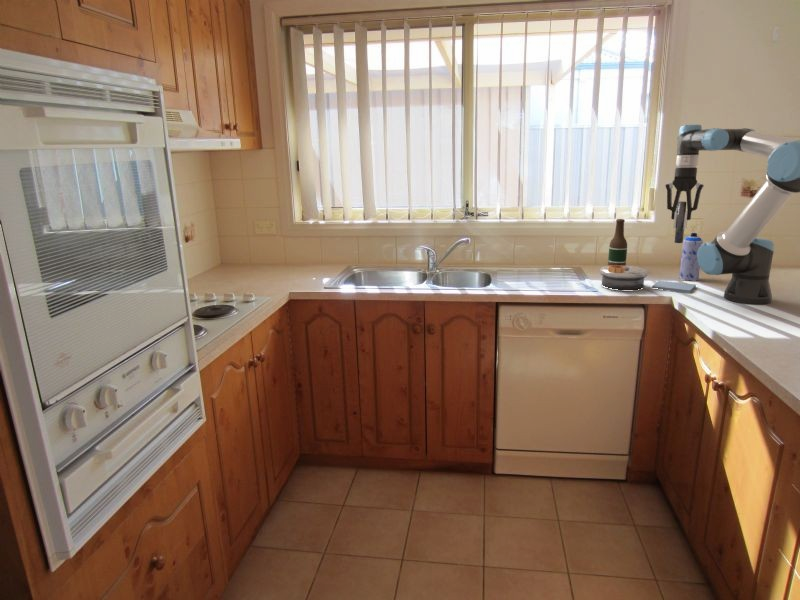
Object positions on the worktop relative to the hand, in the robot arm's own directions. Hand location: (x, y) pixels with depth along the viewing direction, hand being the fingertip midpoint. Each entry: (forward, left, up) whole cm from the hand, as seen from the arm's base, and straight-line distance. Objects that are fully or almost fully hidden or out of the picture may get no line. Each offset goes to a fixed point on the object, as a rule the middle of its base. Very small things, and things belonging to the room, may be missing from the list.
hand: (679, 227), depth 221 cm
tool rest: (0, 0, -24) cm, 24 cm away
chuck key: (0, 0, -6) cm, 6 cm away
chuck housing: (+18, +8, -24) cm, 31 cm away
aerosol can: (-2, -21, -25) cm, 33 cm away
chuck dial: (+18, +8, -19) cm, 27 cm away
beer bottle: (+29, -23, -25) cm, 45 cm away
